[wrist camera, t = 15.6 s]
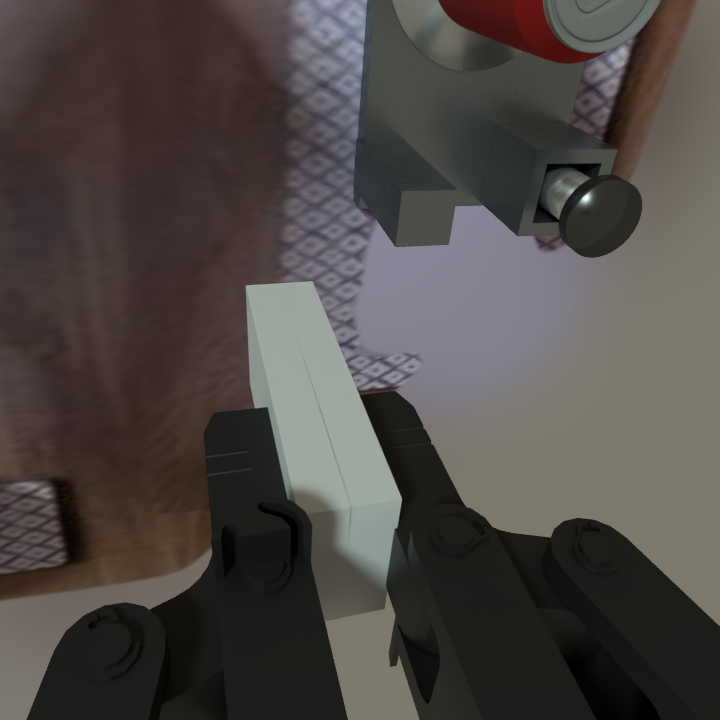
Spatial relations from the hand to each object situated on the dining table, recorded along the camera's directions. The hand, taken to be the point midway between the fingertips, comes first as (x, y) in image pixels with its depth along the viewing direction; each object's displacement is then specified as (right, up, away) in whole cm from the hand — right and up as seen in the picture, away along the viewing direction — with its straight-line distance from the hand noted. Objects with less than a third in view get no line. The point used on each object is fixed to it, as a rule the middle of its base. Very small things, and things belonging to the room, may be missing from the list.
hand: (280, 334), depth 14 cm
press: (+9, +19, +23) cm, 31 cm away
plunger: (+13, +12, +26) cm, 31 cm away
